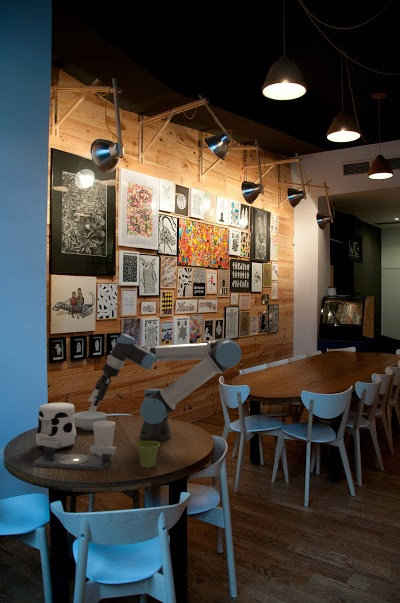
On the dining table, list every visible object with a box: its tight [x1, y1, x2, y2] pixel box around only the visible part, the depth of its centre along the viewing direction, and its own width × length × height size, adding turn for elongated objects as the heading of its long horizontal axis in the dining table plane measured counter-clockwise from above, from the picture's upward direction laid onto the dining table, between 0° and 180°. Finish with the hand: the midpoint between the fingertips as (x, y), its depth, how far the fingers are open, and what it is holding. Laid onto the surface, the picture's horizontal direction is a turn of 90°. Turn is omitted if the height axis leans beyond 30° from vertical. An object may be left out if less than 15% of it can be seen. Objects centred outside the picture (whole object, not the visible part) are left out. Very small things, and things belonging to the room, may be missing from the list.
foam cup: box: [92, 420, 116, 456], centre depth 210 cm, size 10×9×13 cm
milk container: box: [35, 402, 77, 450], centre depth 219 cm, size 17×17×18 cm
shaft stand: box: [32, 438, 117, 472], centre depth 198 cm, size 34×13×7 cm, turn 83°
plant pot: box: [136, 440, 161, 469], centre depth 197 cm, size 9×9×9 cm
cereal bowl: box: [74, 410, 108, 431], centre depth 251 cm, size 17×17×7 cm
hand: (90, 406), depth 224 cm, fingers open, 13 cm apart
